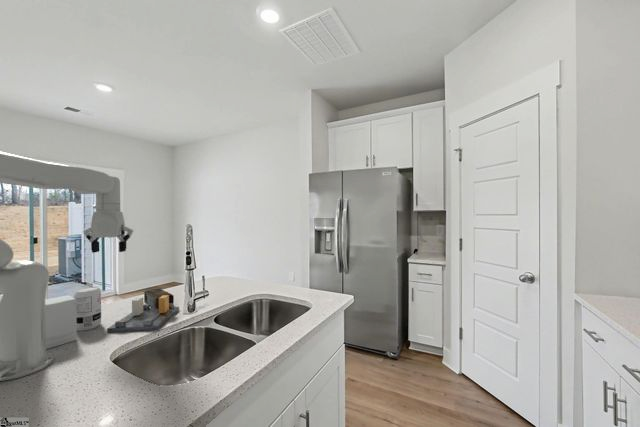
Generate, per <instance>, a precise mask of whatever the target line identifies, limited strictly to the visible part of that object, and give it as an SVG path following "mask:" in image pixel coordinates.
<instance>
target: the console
mask: <svg viewBox="0 0 640 427" xmlns="http://www.w3.org/2000/svg"><path fill="white" fill-rule="evenodd" d="M179 311H180V306H174V305H173V303H169V310H168V311H167V312H165V313H159V308H152V307H150V304H146V303H145V304H144V303H143V313H141V314H140V315H137V316H132V312H131V313H128V314H127V315H126V316H124V317H123V318H121V319H120V320H116V321H115V322H114V323H113V324H112V325H111V326H108V327H107V329H106V333H124V332H125V333H127V332H144V331H157V330H160V328H161V327H162V326H164V325H165V324H166V323H167V322H168V321H169V320H170V319H172V317H173V316H175V315H176V313H178V312H179Z"/></svg>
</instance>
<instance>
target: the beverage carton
mask: <svg viewBox="0 0 640 427" xmlns="http://www.w3.org/2000/svg"><path fill="white" fill-rule="evenodd" d="M143 294H144V297H143V303H145V304H150V308H159V298H160V297H161V296H163V295H169V303H173V306H174V294H172V293H171V292H168V291H166V290H164V289H162V288H155V289H147V290H145V291H144V293H143Z"/></svg>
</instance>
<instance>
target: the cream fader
mask: <svg viewBox="0 0 640 427" xmlns="http://www.w3.org/2000/svg"><path fill="white" fill-rule="evenodd" d="M143 305H144V297H143V296H142V297H140V296H138V297H136V298H135V297H134V299H132V300H131V310H132V311H131V313H132V316H137V315H140V314H141V313H143Z"/></svg>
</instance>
